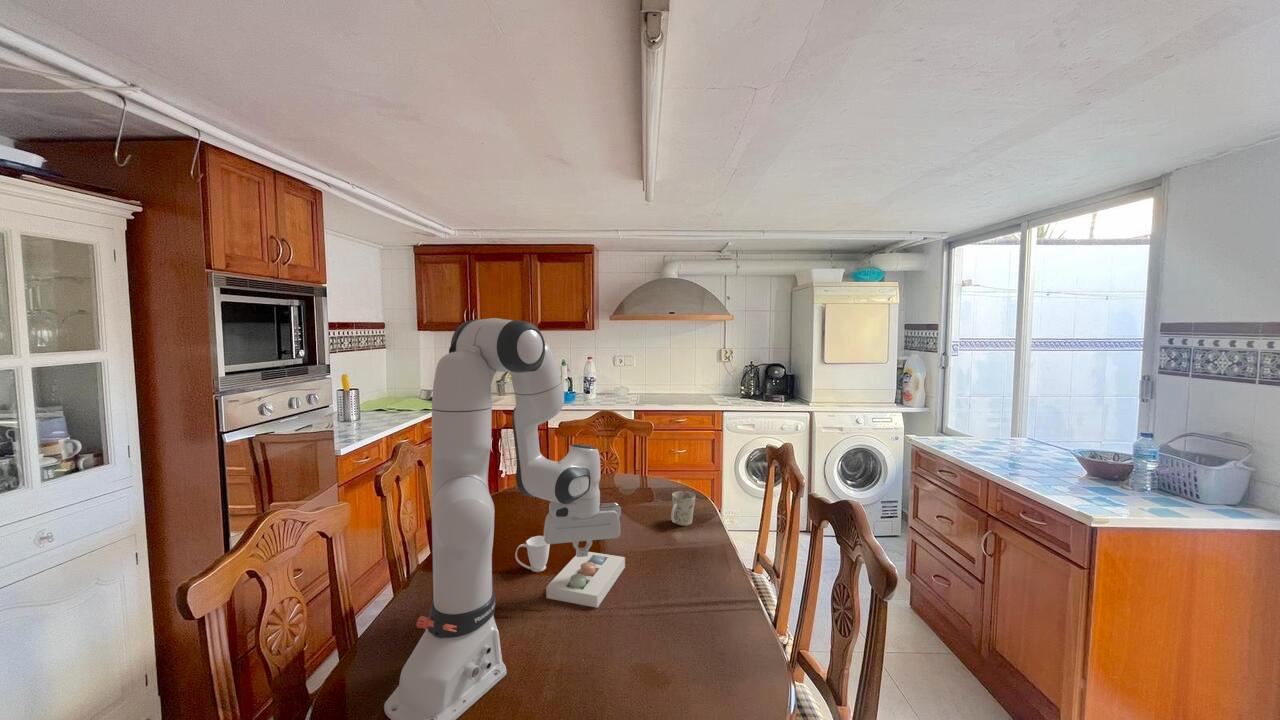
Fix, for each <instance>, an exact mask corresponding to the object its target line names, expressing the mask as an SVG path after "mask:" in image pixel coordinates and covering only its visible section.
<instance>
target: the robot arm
mask: <svg viewBox="0 0 1280 720" xmlns="http://www.w3.org/2000/svg"><path fill="white" fill-rule="evenodd" d="M497 372H501V373H504V372H505V373H506V372H507V373H508V374H509V375H510V378H511V383H512V388H513V393H514V398H515V406H514V408H513V411H512V414H511V415H512V417H511V419H512V420H511V421H512V433H513V440H514V441H513V442H514V450H515V457H516V458H515V459H516V470H515V471H516V472H515V482H516V486H517V489H518V491H519V492H520V493H521V494H522V495H524V496H525V497H526V496H527V497H532V498H539V499H542V500H545V501H549V506H548V509H549V510H548V511H549V512H548V513H547V515H546V517H545V519H544V526H543V536H544V541H545V542H546V543H547V544H550V545H556V544H557V545H558V544H565V543H567V544H568V543H572V546H573V548H574V549H575V554H576V555H575V556H577V557H585V556H588V552H589V550H590V548H591V547H592V546H593V541H598V540H610V539H618V538H619V536H620V535H621V521H620V518H621V515H622V507H621V505H619V503H617V502H608V503H607V502H604V503H603V502H601V490H600V487H599V486H600V481H601V456H600V451H599V449H598V448H597V447H595V446H593V445H589V444H582V443H574V444H571V445H570V446H569V450H568V452H567V454H566V455H565V456H564V457H563V458H562V459H561V460H559V461H555V460H551V459H548V458H546V457H545V456H543V454H542V453H541V449H540V439H539V431H538V430H539V429H538V427H539V425H542V424H544V423H547V422H548V421H550V420H551V419H553V418H555V417H556V416H557V415H558V414H559V413H560V412H561V410H562V408H563V406H564V404H565V390H564V386H563V381H562V378H561V374H560V373H561V372H560V370H559V366H558V363H557V361H556V358H555V355H554V353H553V351H552V349H551V346H550V344H549V343H548V342H546V341H545V338H544V336H543V334H542V332H541V331H540V329H539V328H538V327H537V326H536V325H535V324H533V323H531V322H528V321H526V320H520V319H514V320H513V319H504V318H503V319H502V318H499V317H498V318H497V317H492V318H483V319H480V318H479V319H477V318H476V319H471V320H468V321H465V322H463V323H461V324H460V325H458V326H457V328H456V329H455V330H454V332H453V334H452V337H451V340H450V346H449V348H448V353H447V354H445V355H443V356H442V357H441V358H440V359H439V360H438V363H437V365H436V369H435V374H434V380H433V386H432V394H431V395H432V397H431V477H430V478H431V488H430V489H431V490H430V495H431V497H430V499H431V505H430V506H431V538H432V539H431V541H432V542H431V543H432V544H431V545H432V582H433V583H432V585H433V586H432V587H433V588H432V589H433V591H432V592H433V601H432V603H431V606H430V609H429V614H428V617H427V616H426V615H425V616H424V615H421V616H419V617H418V618H417V621H416V627H417V628H418V629H424V630H425V631H424V633H423V634H422V636H421V638H419V640H418V642H417V644H416V645H415V647H414V649H413V651H412V653H410V656H409V658H408V659H407V660H406V662H405V664H404V665H403V667H402V669H401V672H400V674H399V675H400V676H399V684H398V686H397V687H396V688H395V690H394V691H392V694H390V695H389V697H388V698H387V700H386V701H385V702H384V706H383V710H384V713H385V715H386V716H387V718H389V719H390V720H457V719H458V718H460V716H462V715H463V714H464V713H465V712H466V711H467V710H469V708H470V707H472V706H473V705H474V704H475V703H477V701H478V700H480V698H482V697H483V696H484V695H485V694H486V693H488V692H489V690H491V689H492V688H493V687H494V686H495V685H497V684H498V682H500V681H501V680H502V679H503V678H504V677H505V676H506V675H507V667H506V664H505V663H504V662H503V655H502V649H501V640H500V632H499V629H498V626H497V623H496V619H495V616H494V614H495V610H496V598H495V597H496V596H495V591H494V590H493V556H492V555H493V547H494V534H495V504H494V501H493V498H492V496H491V493H490V489H489V481H488V480H489V466H490V456H491V455H490V454H491V449H492V427H493V426H492V418H493V415H492V414H493V413H492V412H493V411H492V407H493V405H492V403H493V402H492V399H493V397H492V383H493V381H494V380H493V379H494V378H495V375H496V373H497ZM579 542H586V543H585V546H584V547H579Z"/></svg>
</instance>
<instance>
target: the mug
mask: <svg viewBox="0 0 1280 720" xmlns="http://www.w3.org/2000/svg"><path fill="white" fill-rule="evenodd" d="M671 498H672V499H671V500H672V508H671V511H670V520H671V521H672V523H674V524H676V525H679V526H685V527H686V526H689V525H691V524H692V523H693V517H694V510H695V503H696V494H695V493H694V492H691V491H687V490H686V491H685V490H681V491H679V490H678V491H675V492H672V494H671Z"/></svg>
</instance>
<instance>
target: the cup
mask: <svg viewBox="0 0 1280 720" xmlns="http://www.w3.org/2000/svg"><path fill="white" fill-rule="evenodd" d="M521 547H523V548H526V551H527V556H528V557H527V558H528V560H529V563H530V564H529V565H530V566H529V565H527V564H525V563H523V562H522V561H520V559H519V558H518V550H519V549H520V548H521ZM550 547H551V544H547V543H546V542H545V541H544V535H536V536H531V537H530V538H528V539H527V540H526V541H525V543H522V544H519V545H518V546H517V548H516V551H515V555H514V557H515V560H516V562H517V563H518V564H519V565H520V566H522V567H524V568H525V569H528V570H531V571H532V572H534V573H535V572H536V573H540V572H543V571H544V570H546V569H547V563H548V559H549V554H550Z"/></svg>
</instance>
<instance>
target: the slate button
mask: <svg viewBox="0 0 1280 720" xmlns="http://www.w3.org/2000/svg"><path fill="white" fill-rule="evenodd" d="M590 562H592V563H594V564H598V565H602V564H603V563H604V557H603V556H593V557H591V558H590Z"/></svg>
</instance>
